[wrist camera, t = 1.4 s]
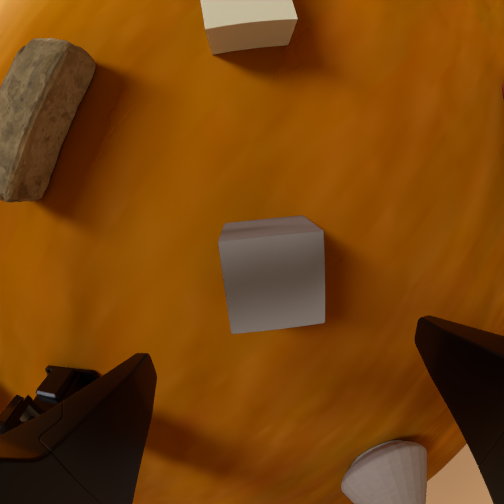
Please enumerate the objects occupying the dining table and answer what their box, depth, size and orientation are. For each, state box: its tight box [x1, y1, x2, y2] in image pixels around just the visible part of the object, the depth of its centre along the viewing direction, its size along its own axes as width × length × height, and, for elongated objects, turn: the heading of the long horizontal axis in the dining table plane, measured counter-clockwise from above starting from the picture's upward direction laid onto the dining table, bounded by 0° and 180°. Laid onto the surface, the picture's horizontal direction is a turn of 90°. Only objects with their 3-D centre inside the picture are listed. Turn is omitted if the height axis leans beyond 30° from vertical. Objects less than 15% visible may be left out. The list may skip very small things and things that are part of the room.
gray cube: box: [218, 216, 325, 334], centre depth 17 cm, size 5×5×5 cm
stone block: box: [0, 38, 96, 202], centre depth 13 cm, size 6×12×5 cm, turn 153°
